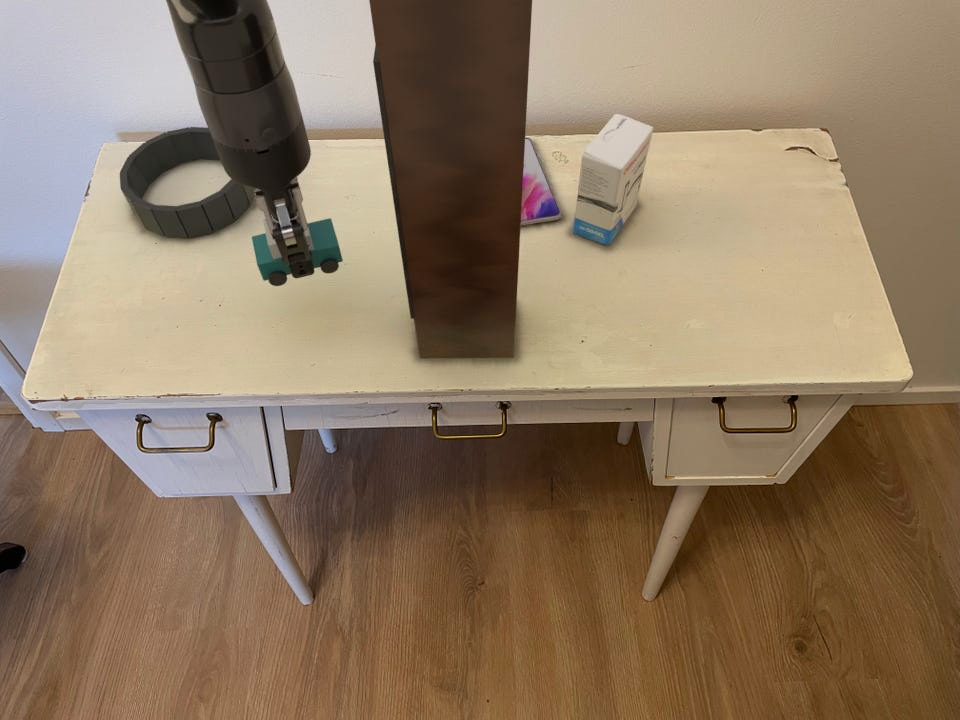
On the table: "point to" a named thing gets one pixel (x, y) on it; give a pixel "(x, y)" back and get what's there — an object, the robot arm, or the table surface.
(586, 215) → the ink box
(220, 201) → the segmented grey ring
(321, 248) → the toy car
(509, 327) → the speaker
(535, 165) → the smartphone
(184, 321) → the table surface
